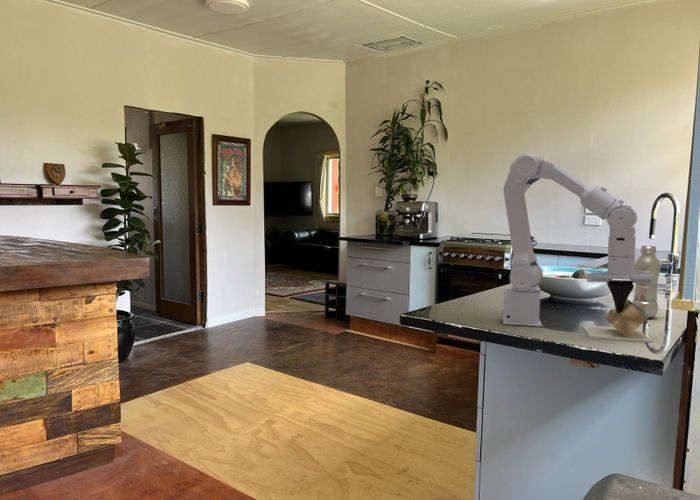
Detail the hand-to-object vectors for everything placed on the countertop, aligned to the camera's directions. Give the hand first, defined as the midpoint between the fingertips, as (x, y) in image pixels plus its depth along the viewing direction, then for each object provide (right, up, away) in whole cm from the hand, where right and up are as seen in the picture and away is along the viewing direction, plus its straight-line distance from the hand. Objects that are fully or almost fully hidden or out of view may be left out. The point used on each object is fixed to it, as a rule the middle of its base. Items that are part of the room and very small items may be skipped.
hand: (619, 312), depth 125 cm
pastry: (+10, -5, +16) cm, 19 cm away
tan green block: (-1, -4, 0) cm, 4 cm away
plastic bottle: (+18, -4, +21) cm, 28 cm away
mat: (0, -6, +1) cm, 6 cm away
